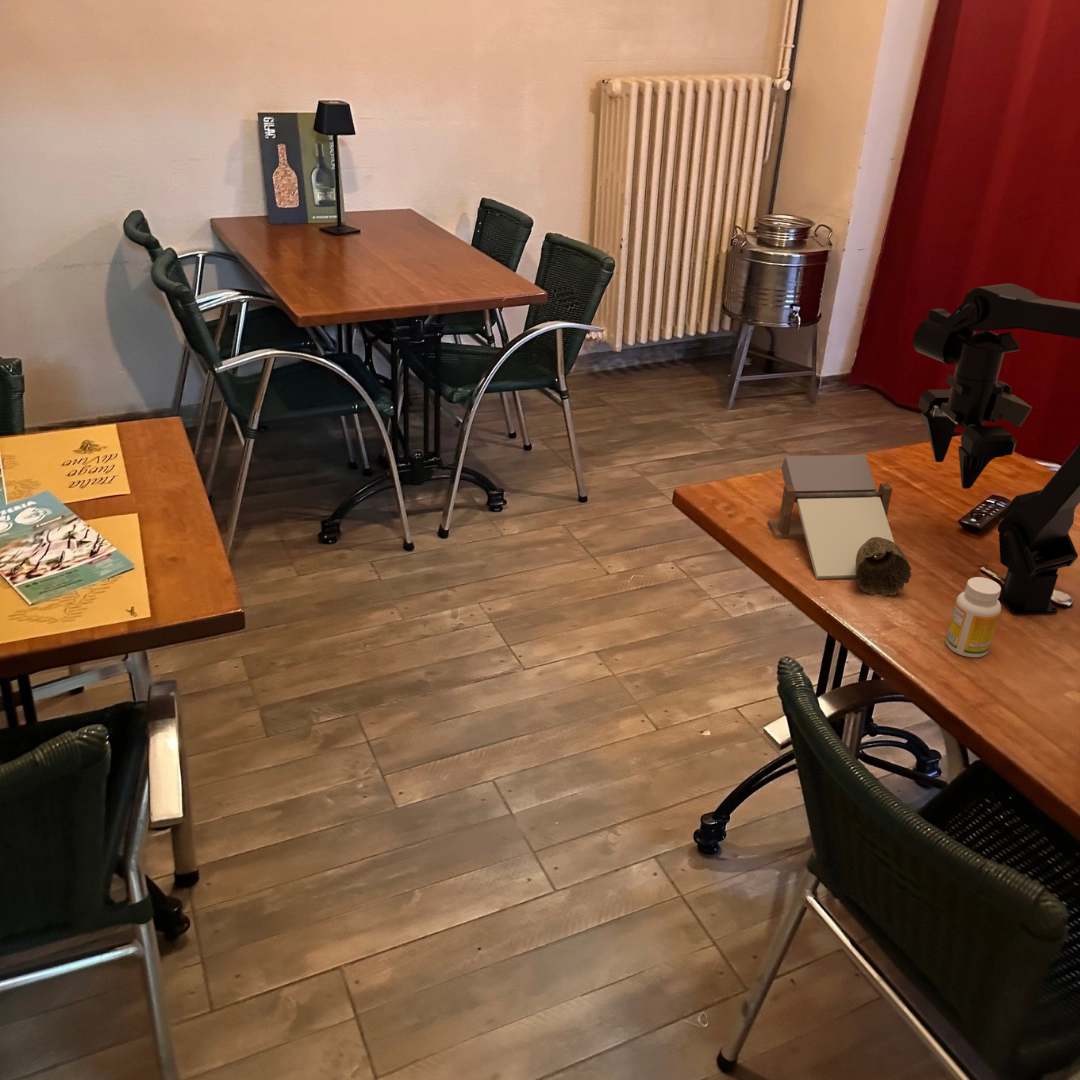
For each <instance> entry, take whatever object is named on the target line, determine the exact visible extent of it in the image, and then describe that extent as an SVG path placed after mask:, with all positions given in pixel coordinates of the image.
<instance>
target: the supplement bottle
mask: <svg viewBox="0 0 1080 1080" xmlns="http://www.w3.org/2000/svg"><path fill="white" fill-rule="evenodd" d="M1001 587H1002V586H1001V585H1000V584H999V583H997V582H996V581H994V580H993V579H990V578H986V577H982V576H981V577H980V576H975V577H972V578H969V579H968V580H967V582H966V586H965V588H964V589H965V591H963V592H961V593H959V594H958V596H957V597H956V600H955V604H954V608H953V610H952V615H951V619H950V623H949V626H948V629H947V633H946V637H945V643H946V646H947V647H948V648H949V649H950V650H951V651H952V652H954V653H955V654H957V655H959V656H963V657H968V658H981V657H984V656H985V655H987V654H988V652H989V651H990V648H991V645H992V642H993V637H994V634H995V633H996V632H995V631H996V627H997V624H998V621H999V617H1000V614H1001V611H1002V605H1001V603H1000V600H998V599H999V596H1000V591H1001Z"/></svg>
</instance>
